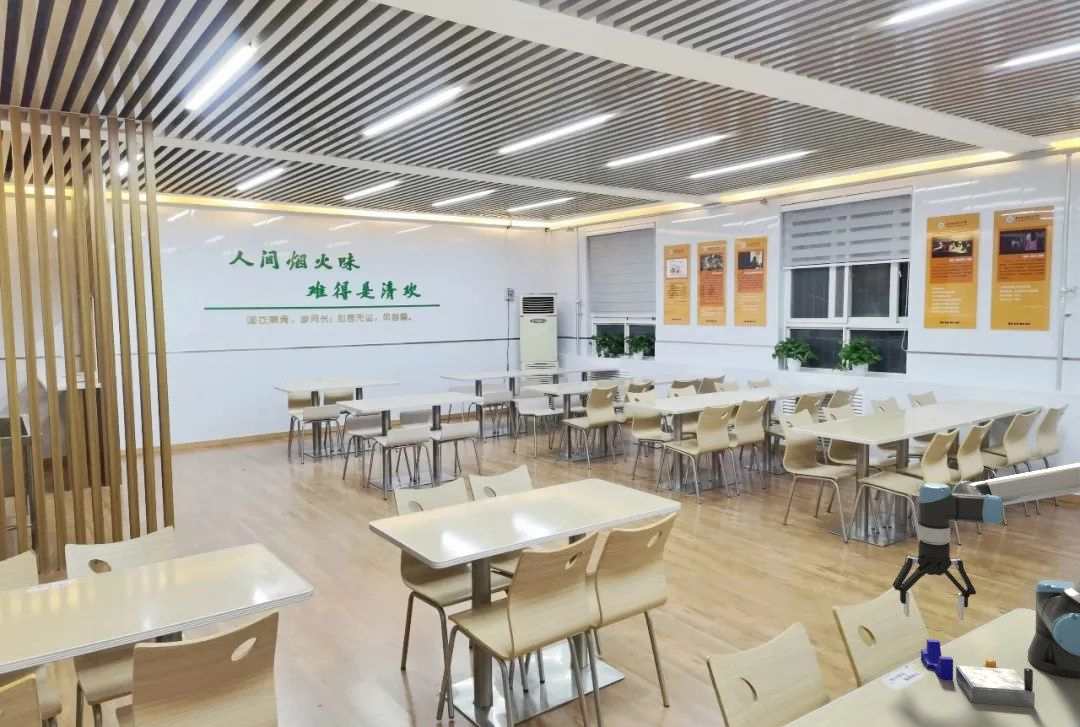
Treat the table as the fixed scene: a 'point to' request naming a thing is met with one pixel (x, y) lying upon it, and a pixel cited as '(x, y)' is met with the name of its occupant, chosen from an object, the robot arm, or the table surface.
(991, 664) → the chess pawn
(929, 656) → the cable clip
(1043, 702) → the table surface
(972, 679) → the grey square plate
